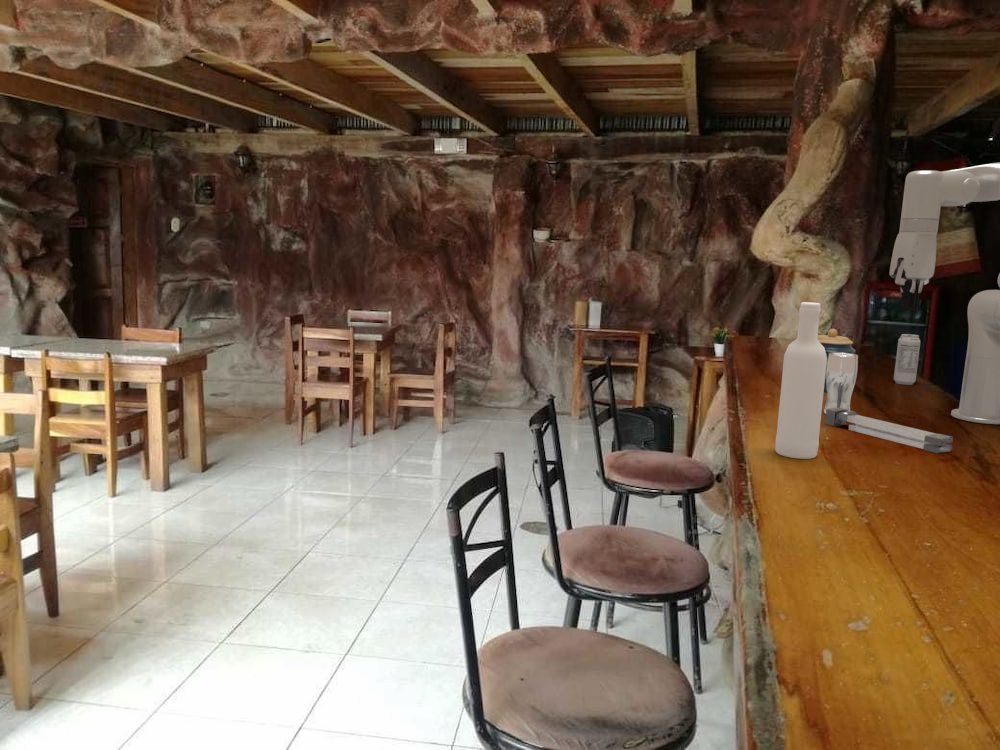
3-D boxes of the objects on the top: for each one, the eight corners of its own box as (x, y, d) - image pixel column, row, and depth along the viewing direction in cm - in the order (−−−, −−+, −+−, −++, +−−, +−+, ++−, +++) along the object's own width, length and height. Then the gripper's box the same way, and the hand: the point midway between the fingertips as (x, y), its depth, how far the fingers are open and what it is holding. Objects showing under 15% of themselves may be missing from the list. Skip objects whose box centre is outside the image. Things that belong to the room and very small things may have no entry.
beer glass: (855, 418, 186) (862, 357, 183) (825, 416, 187) (831, 355, 184) (848, 412, 192) (855, 353, 190) (819, 410, 194) (825, 351, 191)
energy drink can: (915, 383, 237) (921, 335, 235) (914, 386, 232) (920, 336, 230) (894, 380, 240) (899, 333, 238) (892, 383, 235) (898, 335, 233)
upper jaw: (835, 421, 176) (836, 411, 175) (848, 419, 178) (849, 409, 178) (938, 447, 155) (939, 436, 155) (952, 445, 158) (953, 434, 157)
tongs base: (824, 424, 179) (825, 409, 178) (837, 422, 181) (839, 407, 180) (937, 453, 155) (939, 436, 155) (951, 451, 158) (953, 434, 157)
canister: (793, 385, 228) (799, 326, 224) (829, 384, 231) (835, 326, 228) (823, 394, 215) (830, 331, 212) (861, 392, 219) (868, 331, 216)
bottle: (790, 460, 148) (806, 304, 142) (766, 449, 155) (780, 301, 150) (826, 458, 150) (842, 304, 144) (800, 447, 157) (815, 301, 152)
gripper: (922, 229, 178) (913, 308, 181) (882, 226, 170) (872, 309, 173) (955, 229, 171) (944, 311, 174) (914, 226, 164) (903, 312, 167)
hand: (908, 310), depth 174 cm, fingers closed
